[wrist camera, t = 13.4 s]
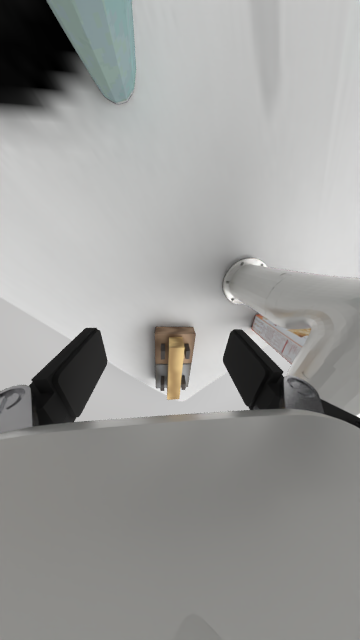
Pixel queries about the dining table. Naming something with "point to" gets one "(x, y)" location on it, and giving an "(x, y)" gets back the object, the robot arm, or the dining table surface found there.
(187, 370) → the door and jamb
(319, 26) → the dining table surface
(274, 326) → the cracker box
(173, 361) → the bar
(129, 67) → the disposable coffee cup
